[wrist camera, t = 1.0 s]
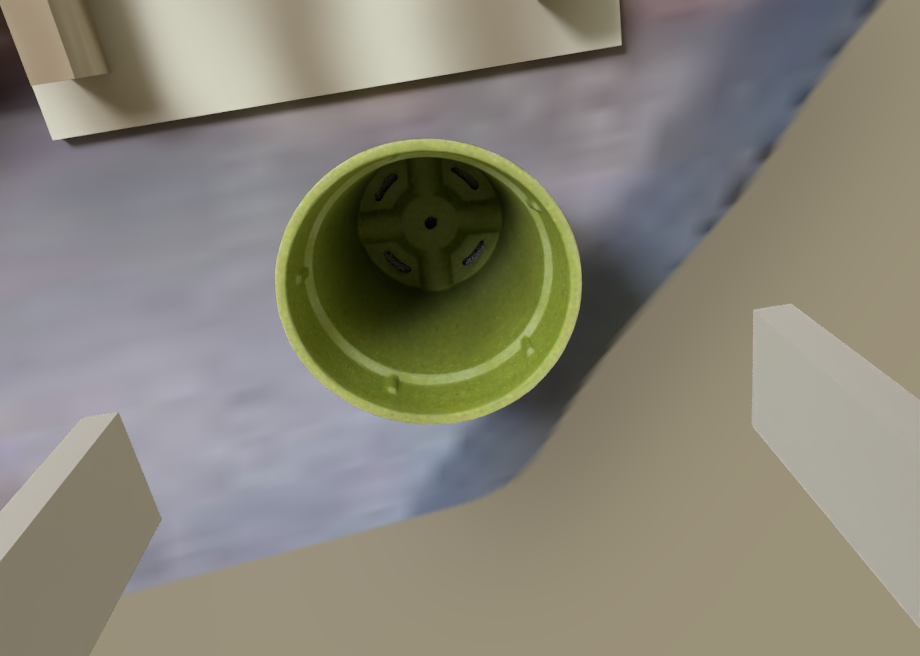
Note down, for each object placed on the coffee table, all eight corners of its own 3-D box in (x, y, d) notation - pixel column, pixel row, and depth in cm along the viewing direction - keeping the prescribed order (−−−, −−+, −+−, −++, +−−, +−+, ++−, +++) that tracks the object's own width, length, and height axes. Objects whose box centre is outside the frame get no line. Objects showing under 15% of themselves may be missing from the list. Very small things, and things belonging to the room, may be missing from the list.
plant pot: (452, 361, 32) (461, 472, 24) (273, 244, 30) (217, 326, 22) (585, 198, 29) (645, 263, 21) (401, 54, 27) (390, 67, 19)
